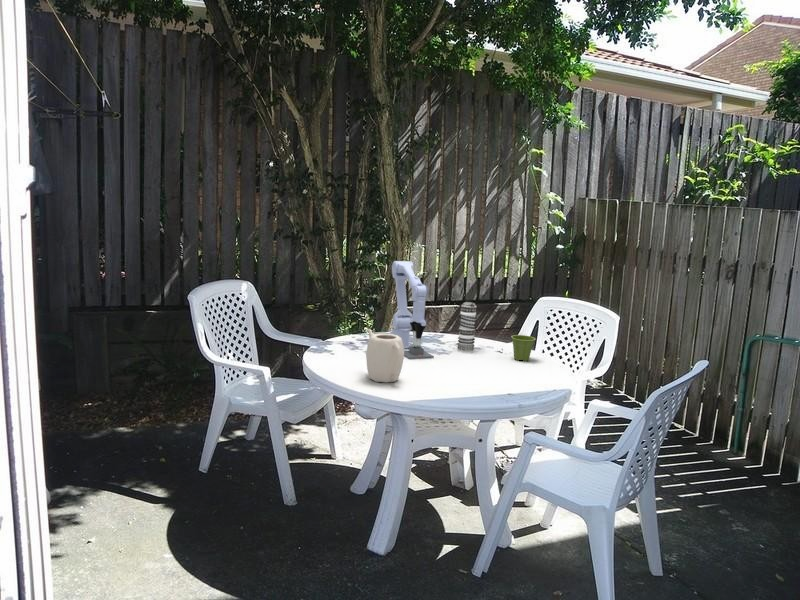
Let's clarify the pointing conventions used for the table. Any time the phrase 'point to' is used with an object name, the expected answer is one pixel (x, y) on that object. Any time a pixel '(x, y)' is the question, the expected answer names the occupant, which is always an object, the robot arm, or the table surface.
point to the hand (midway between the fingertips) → (417, 337)
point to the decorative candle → (467, 327)
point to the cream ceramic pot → (384, 357)
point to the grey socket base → (417, 353)
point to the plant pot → (522, 346)
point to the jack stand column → (416, 340)
